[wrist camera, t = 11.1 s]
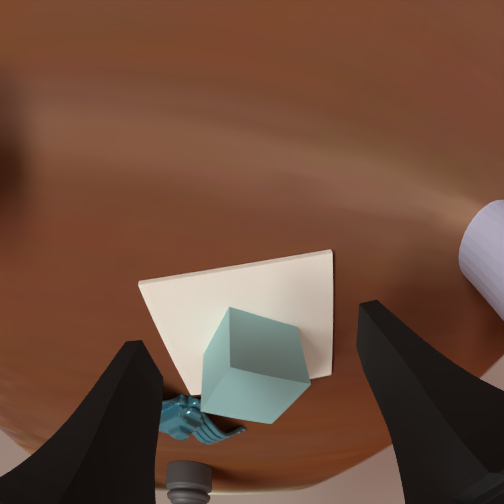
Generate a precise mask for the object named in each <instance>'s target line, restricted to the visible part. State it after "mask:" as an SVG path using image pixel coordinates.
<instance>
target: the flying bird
mask: <svg viewBox="0 0 504 504" xmlns="http://www.w3.org/2000/svg"><path fill="white" fill-rule="evenodd" d="M200 410H201V400H199V399H197V398H194V397H192V396H189V397H187V396H185V395H184V394H180V395H178V396H176V397H174V398H172V399H169V400H164V401H163V403H162V411H161V418H160V425H159V431H162V432H163V433H167V434H170V436H171V437H173V438H175V439H178V440H185V439H187V438H188V437H189V436H190V433H192V434H193V435H194V436H195V437H196V438H197V439H198V440H199V441H200V442H201V443H203V444H206V445H210V444H213V443H216V442H219V441H222V440H224V439H226V438H229V437H231V436H234V435H235V434H236V433H237V434H239V433H241V431H246V428H245V427H242V426H241V427H238V428H236V429H233V430H231V431H228V432H226V433H224V432H222V431H221V430H219V429H218V428H217V427H216V426H215V424H214V423H213V422H212V421H211V419H210V418H209V417H208V416H207V415H206V414H205V412H201V411H200Z"/></svg>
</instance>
